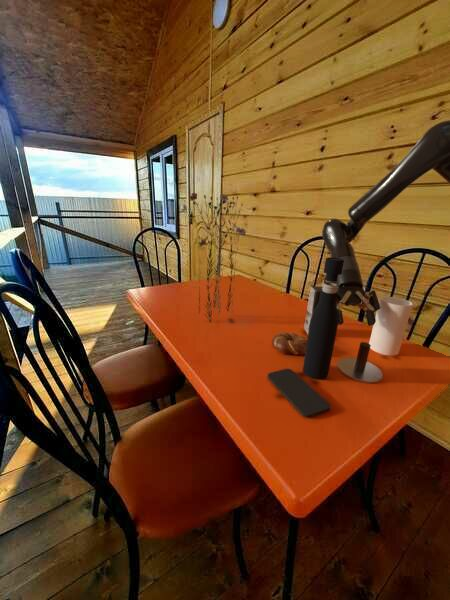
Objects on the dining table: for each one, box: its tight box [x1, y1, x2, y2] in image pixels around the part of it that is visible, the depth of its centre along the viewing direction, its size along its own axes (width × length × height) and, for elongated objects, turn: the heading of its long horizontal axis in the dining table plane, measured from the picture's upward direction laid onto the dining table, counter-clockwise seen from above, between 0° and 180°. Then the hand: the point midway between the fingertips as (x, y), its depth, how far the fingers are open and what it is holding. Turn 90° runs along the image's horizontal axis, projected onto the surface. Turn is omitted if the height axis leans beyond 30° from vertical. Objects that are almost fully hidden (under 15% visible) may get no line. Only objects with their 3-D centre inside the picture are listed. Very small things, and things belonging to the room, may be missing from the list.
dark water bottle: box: [302, 257, 344, 381], centre depth 62 cm, size 6×6×30 cm
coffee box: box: [303, 285, 340, 335], centre depth 87 cm, size 9×6×16 cm
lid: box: [336, 341, 384, 385], centre depth 67 cm, size 11×11×8 cm
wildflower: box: [189, 192, 246, 323], centre depth 91 cm, size 22×23×45 cm
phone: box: [267, 368, 332, 418], centre depth 59 cm, size 7×1×15 cm
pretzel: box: [271, 332, 307, 356], centre depth 78 cm, size 12×11×4 cm
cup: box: [368, 296, 414, 357], centre depth 77 cm, size 8×8×16 cm
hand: (356, 324), depth 71 cm, fingers open, 8 cm apart
